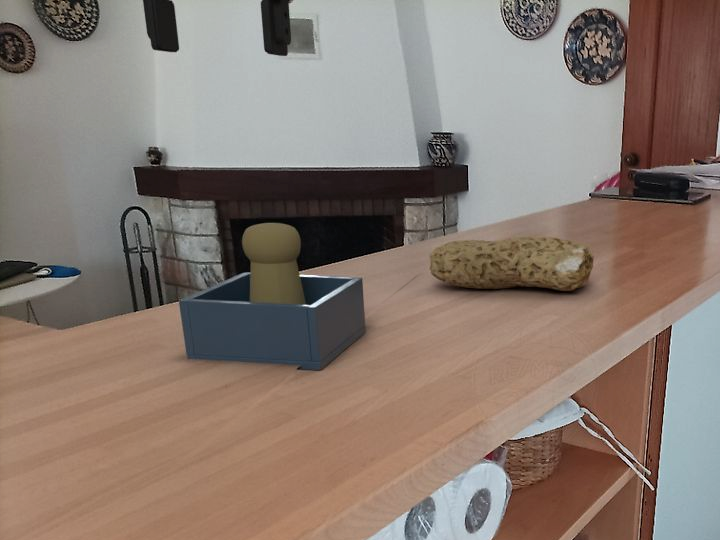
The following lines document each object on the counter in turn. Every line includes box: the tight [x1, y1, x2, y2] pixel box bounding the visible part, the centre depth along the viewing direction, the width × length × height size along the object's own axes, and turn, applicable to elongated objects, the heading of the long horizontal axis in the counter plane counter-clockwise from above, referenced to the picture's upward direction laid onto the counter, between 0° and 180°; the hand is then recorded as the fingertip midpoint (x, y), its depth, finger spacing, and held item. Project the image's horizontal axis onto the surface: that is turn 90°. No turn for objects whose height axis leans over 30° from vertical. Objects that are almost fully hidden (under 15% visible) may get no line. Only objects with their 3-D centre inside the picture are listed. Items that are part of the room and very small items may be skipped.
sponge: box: [429, 236, 595, 292], centre depth 101 cm, size 13×8×20 cm
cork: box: [241, 222, 306, 305], centre depth 74 cm, size 6×6×11 cm
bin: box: [178, 271, 366, 371], centre depth 75 cm, size 13×13×6 cm
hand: (220, 52), depth 65 cm, fingers open, 9 cm apart
